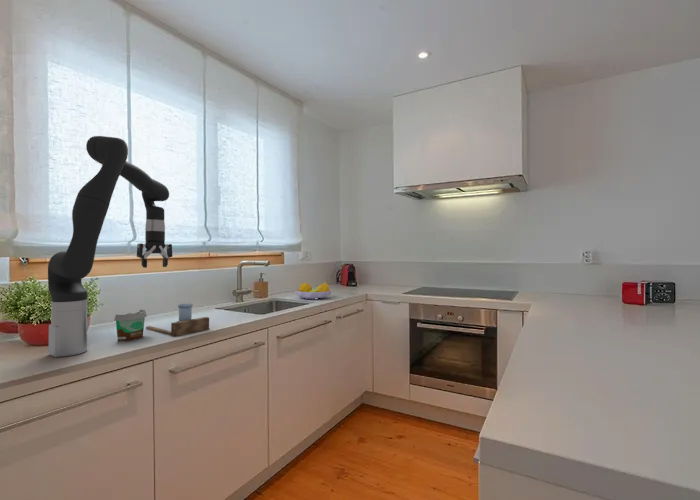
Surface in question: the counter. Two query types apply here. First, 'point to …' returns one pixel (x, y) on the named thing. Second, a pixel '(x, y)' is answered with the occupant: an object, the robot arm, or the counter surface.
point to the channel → (184, 327)
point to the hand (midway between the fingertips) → (155, 267)
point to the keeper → (185, 312)
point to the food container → (130, 326)
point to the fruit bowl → (313, 291)
